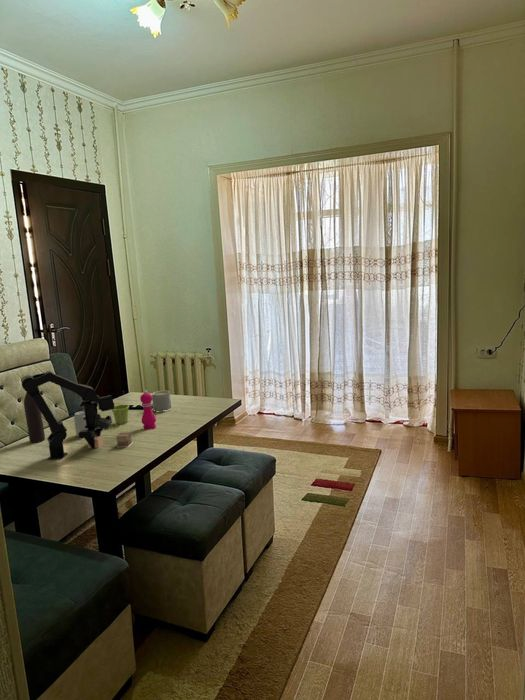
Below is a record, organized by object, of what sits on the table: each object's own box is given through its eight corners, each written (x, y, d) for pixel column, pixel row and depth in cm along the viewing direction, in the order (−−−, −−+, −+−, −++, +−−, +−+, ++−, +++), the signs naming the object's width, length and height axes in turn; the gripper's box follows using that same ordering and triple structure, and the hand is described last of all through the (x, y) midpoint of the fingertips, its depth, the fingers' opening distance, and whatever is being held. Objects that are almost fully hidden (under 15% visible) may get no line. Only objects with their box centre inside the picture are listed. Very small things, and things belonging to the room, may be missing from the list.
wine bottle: (48, 438, 248) (39, 380, 242) (38, 443, 241) (29, 383, 236) (36, 437, 250) (27, 380, 244) (26, 442, 243) (17, 384, 238)
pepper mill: (142, 431, 247) (138, 393, 244) (142, 427, 254) (137, 389, 251) (157, 429, 249) (153, 391, 245) (156, 425, 256) (152, 387, 252)
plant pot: (132, 423, 262) (130, 407, 261) (113, 426, 259) (111, 410, 257) (129, 418, 271) (128, 403, 269) (112, 421, 267) (110, 406, 266)
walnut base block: (128, 446, 224) (127, 435, 224) (117, 446, 225) (116, 436, 224) (132, 442, 229) (130, 432, 228) (121, 442, 230) (120, 432, 229)
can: (87, 437, 244) (83, 414, 242) (73, 437, 245) (70, 414, 243) (95, 432, 251) (92, 410, 249) (81, 432, 253) (78, 410, 251)
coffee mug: (174, 407, 287) (172, 390, 285) (166, 412, 277) (164, 395, 276) (154, 406, 291) (152, 390, 289) (145, 411, 282) (143, 395, 280)
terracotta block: (99, 450, 226) (97, 439, 225) (88, 450, 226) (87, 440, 225) (103, 446, 231) (102, 435, 230) (93, 446, 231) (91, 436, 230)
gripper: (100, 419, 216) (104, 452, 218) (115, 406, 234) (119, 438, 237) (75, 420, 217) (80, 453, 219) (93, 408, 235) (97, 439, 238)
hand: (95, 445), depth 228 cm, fingers open, 5 cm apart
